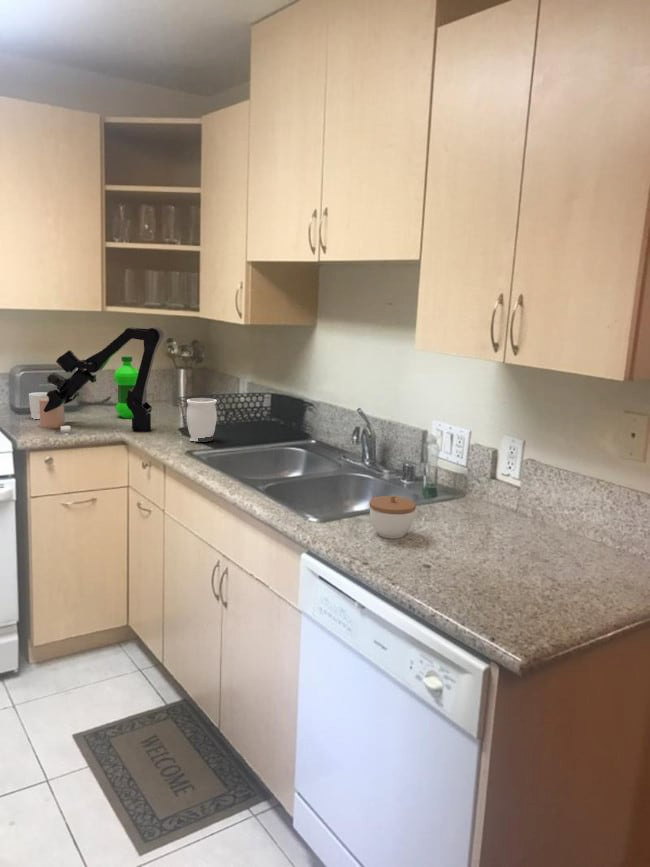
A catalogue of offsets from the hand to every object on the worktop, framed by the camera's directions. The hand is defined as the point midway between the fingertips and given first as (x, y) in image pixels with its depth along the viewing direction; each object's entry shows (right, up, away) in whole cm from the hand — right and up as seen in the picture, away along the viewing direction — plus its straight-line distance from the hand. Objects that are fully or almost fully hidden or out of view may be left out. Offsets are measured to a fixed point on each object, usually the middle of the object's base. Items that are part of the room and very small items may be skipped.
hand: (48, 409), depth 265 cm
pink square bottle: (+1, -7, +1) cm, 7 cm away
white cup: (-10, -3, +17) cm, 20 cm away
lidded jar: (+120, -33, -100) cm, 160 cm away
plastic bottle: (+23, -2, +26) cm, 35 cm away
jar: (+60, -12, -12) cm, 62 cm away
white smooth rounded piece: (+10, -9, -10) cm, 16 cm away
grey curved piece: (+10, -9, -10) cm, 17 cm away
